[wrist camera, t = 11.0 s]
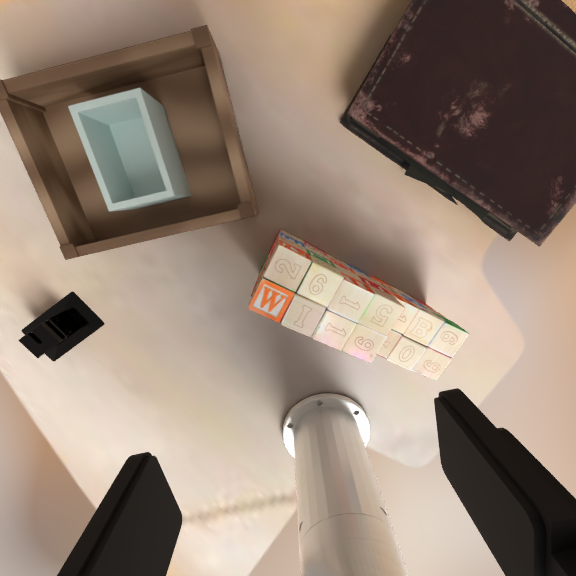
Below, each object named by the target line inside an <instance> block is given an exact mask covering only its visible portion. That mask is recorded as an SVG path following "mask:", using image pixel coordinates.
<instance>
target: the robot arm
mask: <svg viewBox="0 0 576 576" xmlns="http://www.w3.org/2000/svg"><path fill="white" fill-rule="evenodd" d="M434 403H435V412H436V421H437V431H438V440H439V449H440V458H441V464H442V468H443V470H444V473H445V475H446V477H447V478H448V480H449V481H450V483H451V485H452V487H453V488H454V490H455V492H456V493H457V495H458V497H459V498H460V500H461V502H462V503H463V505H464V507H465V508H466V510H467V512H468V513H469V515H470V517H471V518H472V520H473V522H474V524H475V525H476V527H477V528H478V530H479V532H480V534H481V535H482V537H483V539H484V540H485V542H486V544H487V545H488V547H489V549H490V550H491V552H492V554H493V555H494V557H495V559H496V560H497V562H498V564H499V566H500V567H501V569H502V571H503V572H504V574H505V576H576V499H575V498H574V497H573V496H572V495H571V494H570V493H569V492H568V491H567V490H566V489H565V488H564V486H563V485H562V484H560V482H559V481H558V480H557V479H555V477H554V476H553V475H552V474H551V473H550V472H549V471H548V470H547V469H546V468H545V467H544V466H543V465H542V464H541V463H540V462H539V461H538V460H537V459H536V458H535V457H534V456H533V455H532V454H531V453H530V452H529V451H528V450H527V449H526V448H525V447H524V446H523V445H522V444H521V443H520V442H519V441H518V440H517V439H516V438H515V437H514V436H513V435H512V434H511V433H510V432H509V431H508V430H506V429H504V428H496V427H495V426H494V425H493V424H492V423H491V422H490V421H489V420H488V418H487V417H486V416H485V415H484V414H483V413H482V412H481V411H480V410H479V409H478V408H477V407H476V406H475V405H474V404H473V403H472V402H471V400H470V399H469V398H468V397H467V396H466V395H465V394H464V393H463V392H462V391H461V390H460V389H458V388H457V389H452V390H447V391H442V392H439V397H437V398H435V399H434ZM369 436H370V425H369V421H368V418H367V416H366V414H365V412H364V410H363V409H362V408H361V406H360V405H358V404H357V403H356V402H355V401H353V400H352V399H350V398H348V397H345V396H342V395H338V394H333V393H324V394H317V395H313V396H310V397H307V398H306V399H304V400H302V401H300V402H299V403H297V404H296V405H295V406H294V407H293V408H292V409H291V410H290V411H289V413H288V414H287V416H286V418H285V421H284V424H283V441H284V445H285V447H286V449H287V451H288V452H289V453H290V454H291V456H292V457H293V458H295V476H296V496H297V516H298V534H299V554H300V555H299V556H300V569H301V576H409V573H408V570H407V567H406V565H405V562H404V559H403V556H402V553H401V550H400V547H399V544H398V541H397V538H396V536H395V533H394V530H393V527H392V524H391V521H390V518H389V515H388V512H387V509H386V506H385V503H384V500H383V498H382V494H381V491H380V488H379V485H378V482H377V480H376V477H375V474H374V471H373V468H372V465H371V462H370V459H369V456H368V453H367V450H366V445H367V443H368V440H369ZM181 525H182V514H181V511H180V509H179V507H178V504H177V502H176V500H175V498H174V495H173V493H172V491H171V489H170V487H169V484H168V482H167V480H166V478H165V475H164V473H163V471H162V469H161V467H160V464H159V462H158V460H157V458H156V457H155V456H152V455H151V453H149V452H146V453H141V454H136V455H131V456H130V457H129V458H128V459H127V460H126V462H125V464H124V465H123V467H122V469H121V470H120V472H119V474H118V475H117V477H116V479H115V480H114V482H113V484H112V485H111V487H110V489H109V490H108V492H107V494H106V495H105V497H104V499H103V500H102V502H101V504H100V505H99V507H98V509H97V510H96V512H95V514H94V515H93V517H92V519H91V520H90V522H89V524H88V525H87V527H86V528H85V530H84V532H83V534H82V535H81V537H80V539H79V540H78V542H77V544H76V545H75V547H74V549H73V550H72V552H71V554H70V555H69V557H68V558H67V560H66V562H65V563H64V565H63V567H62V568H61V570H60V572H59V573H58V575H57V576H166V574H167V571H168V567H169V564H170V561H171V558H172V554H173V551H174V548H175V545H176V542H177V538H178V535H179V532H180V529H181Z"/></svg>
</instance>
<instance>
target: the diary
mask: <svg viewBox="0 0 576 576" xmlns="http://www.w3.org/2000/svg"><path fill="white" fill-rule="evenodd" d="M340 123H341V124H342V125H343V126H344V127H346V128H347V129H348V130H350V131H351V132H352V133H354V134H355V135H357V136H358V137H359V138H361V139H362V140H364V141H365V142H366V143H368V144H369V145H371V146H372V147H373V148H375V149H376V150H378V151H379V152H380V153H382V154H383V155H385V156H386V157H388V158H389V159H391V160H392V161H394V162H395V163H397V164H398V165H400V166H401V167H403V168H404V169H406V170H407V171H406V172H405V175H407V176H410V177H412V178H414V179H417V180H419V181H422V182H424V183H426V184H428V185H429V186H431V187H432V188H433V189H435V190H436V191H438V192H439V193H440V194H442V195H443V196H444V197H446V198H447V199H449V200H450V201H452V202H454V203H455V204H457V203H456V202H455V200H454V199H453V198H452V197H454V198H455V199H457V200H458V201H460V202H461V203H463V204H464V205H465V206H466V207H467V208H469V209H470V210H471V211H472V212H473V213H475V214H476V215H477V216H478V217H479V218H480V219H481V220H482V221H483V222H484V223H485V224H486V225H487V226H489V227H490V228H491V229H493V230H494V231H496V232H497V233H498V234H499V235H501V236H502V237H504V238H505V239H507V240H508V241H510V240H511V239H512V238H513V236H514V235H515V234H516V233H517V232H519V233H521V234H522V235H524V236H525V237H527V238H528V239H529V240H531V241H532V242H534V243H535V244H537V245H538V246H540V245H541V244H542V243H543V242H544V241H545V239H546V238H547V237H548V236H549V235H550V233H551V232H552V231H553V230H554V229H555V227H556V226H557V225H558V224H559V222H560V221H561V220H562V219H563V218H564V217H565V215H566V214H567V213H568V212H569V210H570V209H571V208H572V207H573V206H574V204H575V203H576V14H575V13H574V12H573V11H572V10H571V9H570V8H569V7H568V6H567V5H566V4H565V3H564V2H562V1H561V0H412V1H411V2H410V4H409V6H408V8H407V9H406V11H405V13H404V15H403V16H402V18H401V20H400V22H399V23H398V25H397V27H396V29H395V30H394V32H393V34H392V35H390V37H389V39H388V40H387V42H386V44H385V45H384V47H383V49H382V51H381V52H380V54H379V56H378V57H377V59H376V61H375V63H374V64H373V66H372V68H371V69H370V71H369V73H368V74H367V76H366V78H365V80H364V81H363V83H362V84H361V86H360V88H359V89H358V91H357V93H356V95H355V96H354V98H353V100H352V102H351V103H350V105H349V107H348V109H347V110H346V112H345V114H344V116H343V117H342V119H341V121H340ZM457 205H458V204H457Z"/></svg>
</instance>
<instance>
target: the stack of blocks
mask: <svg viewBox="0 0 576 576" xmlns="http://www.w3.org/2000/svg"><path fill="white" fill-rule="evenodd" d="M248 309H249V310H251V311H253V312H256V313H258V314H260V315H262V316H265V317H267V318H269V319H271V320H273V321H276V322H279V323H280V324H281V325H282V326H285V327H287V328H289V329H292V330H294V331H296V332H299V333H301V334H303V335H306V336H308V337H312V339H314V340H316V341H318V342H321V343H323V344H325V345H328V346H330V347H332V348H335V349H337V350H342V351H343V352H345V353H347V354H350V355H352V356H354V357H357V358H359V359H361V360H364V361H366V362H368V363H371V362H372V360H373V359H374V357H375V356H376V354H377V355H379V356H381V357H384V358H386V360H388V361H390V362H392V363H395V364H397V365H399V366H401V367H403V368H406V369H408V370H413V371H415V372H417V373H419V374H421V375H423V376H425V377H428V378H430V379H432V380H434V381H436V380H437V378H438V377H439V376H440V374H441V373H442V372H443V370H444V369H445V368H446V366H447V365H448V364H449V362H450V361H451V360H452V357H453V356H454V354H455V353H456V352H457V350H458V349H459V348H460V346H461V345H462V344H463V342H464V341H465V339H466V338H467V337H468V335H469V333H468V332H466V331H465V330H464V329H462V328H461V327H459V326H458V325H457V324H455V323H454V322H452V321H450V320H448V319H447V318H445V317H444V316H442V315H441V314H440V313H438V312H436V311H435V310H433V309H432V308H431V307H429V306H428V305H427V304H425V303H423V302H420V301H418V300H416V299H414V298H412V297H410V296H409V295H408V294H406V293H404V292H402V291H400V290H398V289H396V288H394V287H392V286H390V285H388V284H386V283H385V282H383V281H381V280H379V279H377V278H375V277H373V276H371V275H369V274H366V273H364V272H362V271H360V270H358V269H356V268H354V267H352V266H350V265H348V264H346V263H344V262H342V261H340V260H338V259H336V258H334V257H332V256H330V255H328V254H326V253H325V252H324V251H322V250H320V249H318V248H316V247H314V246H312V245H310V244H308V243H306V242H304V241H303V240H301V239H299V238H297V237H295V236H293V235H292V234H290V233H288V232H286V231H284V230H282V229H280V231H279V233H278V235H277V237H276V239H275V241H274V244H273V246H272V248H271V250H270V252H269V255H268V257H267V259H266V261H265V263H264V265H263V267H262V269H261V271H260V273H259V275H258V278H257V281H256V284H255V287H254V289H253V292H252V294H251V300H250V303H249V306H248Z"/></svg>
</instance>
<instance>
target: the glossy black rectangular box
mask: <svg viewBox="0 0 576 576" xmlns="http://www.w3.org/2000/svg"><path fill="white" fill-rule="evenodd" d="M103 325H104V322H103V321H102V320H101V319H100V318H99V317H98V316H97V315H96V314H95V313H94V312H93V311H92V310H91V309H90V308H89V307H88V306H87V305H86V304H85V303H84V302H83V301H82V300H81V299H80V298H79V297H78V296H77V295H76V294H75V293H74V292H71V293H69V294H68V295H67V296H65V297H64V298H63V299H62V300H60V301H59V302H58V303H56V304H55V305H54V306H52V307H51V308H50V309H48V310H47V311H46V312H45V313H43V314H42V315H41V316H39V317H38V318H37V319H35V320H34V321H33V322H31V323H30V324H29V325H27V326H26V327H25V328H24V329H22V332H23V333H24V334H25V336H23V337H22V338H21V339H20V340H19V341H20V342H21V343H22V344H23V345H24V346H25V347H26V348H27V349H28V350H29V351H30V352H32V353H33V354H34V355H35V356H36V357H37V358H39V357H41V356H42V355H44V354H46V355H47V356H48V357H49V358H50V359H51V360H52V361H56V360H57V359H58V358H60V357H61V356H62V355H64V354H65V353H66V352H68V351H69V350H70V349H72V348H73V347H74V346H76V345H77V344H79V343H80V342H81V341H83V340H84V339H85V338H87V337H88V336H89V335H91V334H92V333H93V332H95V331H96V330H97V329H99V328H100V327H102V326H103Z"/></svg>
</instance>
